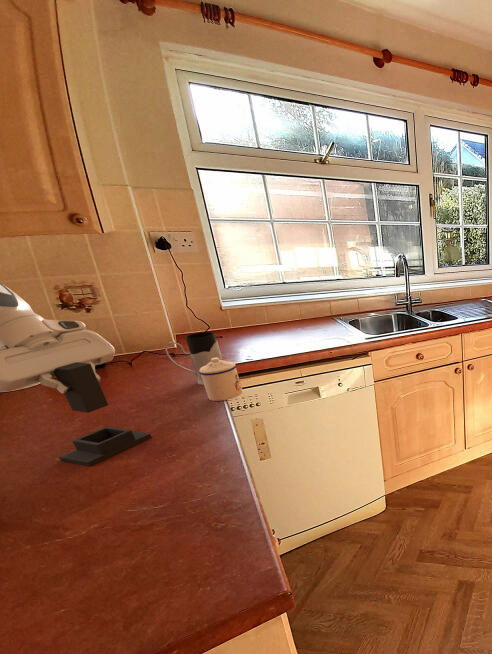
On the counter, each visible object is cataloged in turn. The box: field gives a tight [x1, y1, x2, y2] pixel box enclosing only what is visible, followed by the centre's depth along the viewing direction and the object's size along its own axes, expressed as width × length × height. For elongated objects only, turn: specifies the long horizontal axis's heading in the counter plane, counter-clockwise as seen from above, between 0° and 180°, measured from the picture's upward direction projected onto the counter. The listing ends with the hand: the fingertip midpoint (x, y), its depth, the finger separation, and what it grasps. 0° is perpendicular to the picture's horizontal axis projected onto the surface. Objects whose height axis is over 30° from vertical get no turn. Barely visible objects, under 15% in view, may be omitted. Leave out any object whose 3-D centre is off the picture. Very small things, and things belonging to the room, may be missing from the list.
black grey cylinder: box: [164, 331, 224, 386], centre depth 134 cm, size 9×14×15 cm, turn 114°
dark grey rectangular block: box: [54, 362, 109, 414], centre depth 92 cm, size 4×5×10 cm
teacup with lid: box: [199, 358, 244, 402], centre depth 124 cm, size 12×9×12 cm
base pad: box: [59, 426, 152, 467], centre depth 97 cm, size 13×9×4 cm
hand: (82, 385), depth 92 cm, fingers closed on dark grey rectangular block, 4 cm apart
